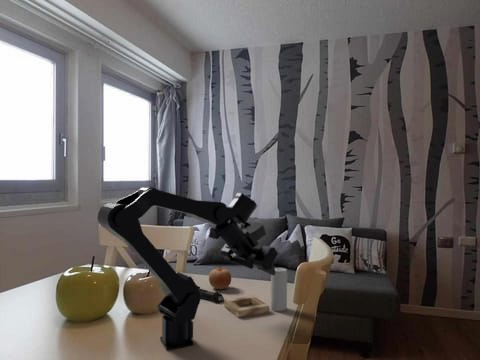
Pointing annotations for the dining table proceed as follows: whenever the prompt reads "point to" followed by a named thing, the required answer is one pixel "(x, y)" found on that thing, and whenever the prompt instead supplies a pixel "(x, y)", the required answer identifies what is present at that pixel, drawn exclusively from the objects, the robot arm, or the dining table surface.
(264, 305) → the socket block
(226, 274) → the apple
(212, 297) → the electric trimmer
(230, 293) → the dining table surface
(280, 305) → the beverage can
